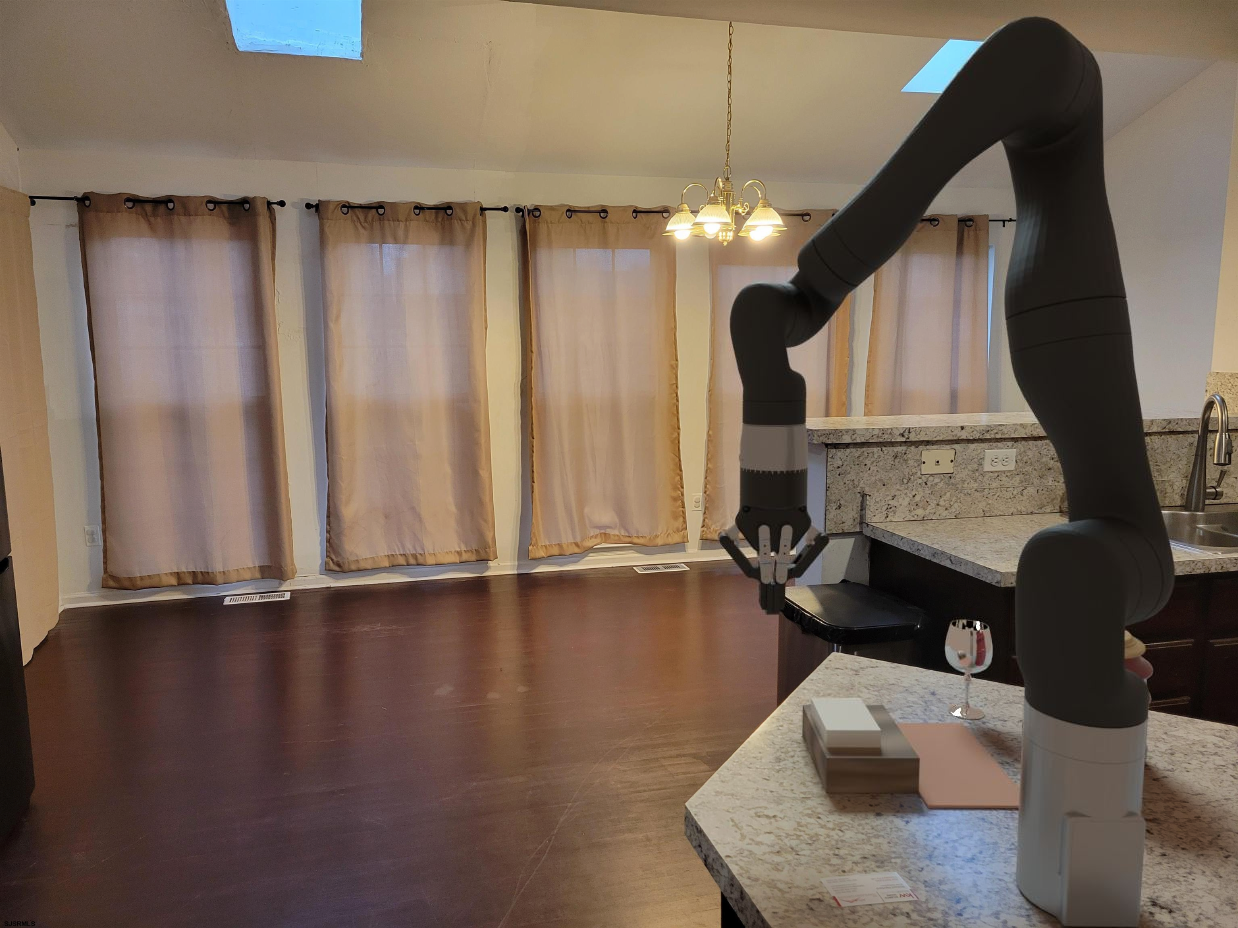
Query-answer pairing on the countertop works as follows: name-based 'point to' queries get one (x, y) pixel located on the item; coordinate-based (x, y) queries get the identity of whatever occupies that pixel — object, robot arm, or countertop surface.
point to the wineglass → (968, 658)
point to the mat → (958, 768)
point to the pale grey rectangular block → (845, 722)
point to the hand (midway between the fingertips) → (772, 612)
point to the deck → (865, 759)
